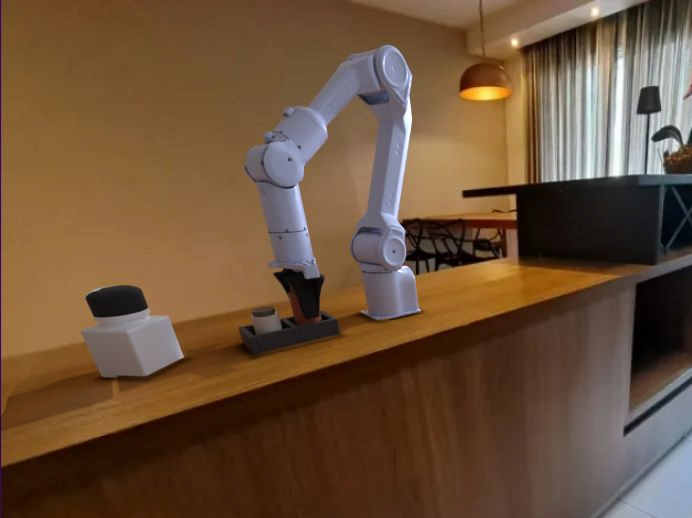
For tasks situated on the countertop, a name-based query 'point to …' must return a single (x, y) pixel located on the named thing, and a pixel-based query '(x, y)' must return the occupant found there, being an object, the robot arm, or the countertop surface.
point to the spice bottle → (300, 311)
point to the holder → (289, 333)
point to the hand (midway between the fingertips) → (307, 314)
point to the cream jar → (265, 320)
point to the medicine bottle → (128, 333)
